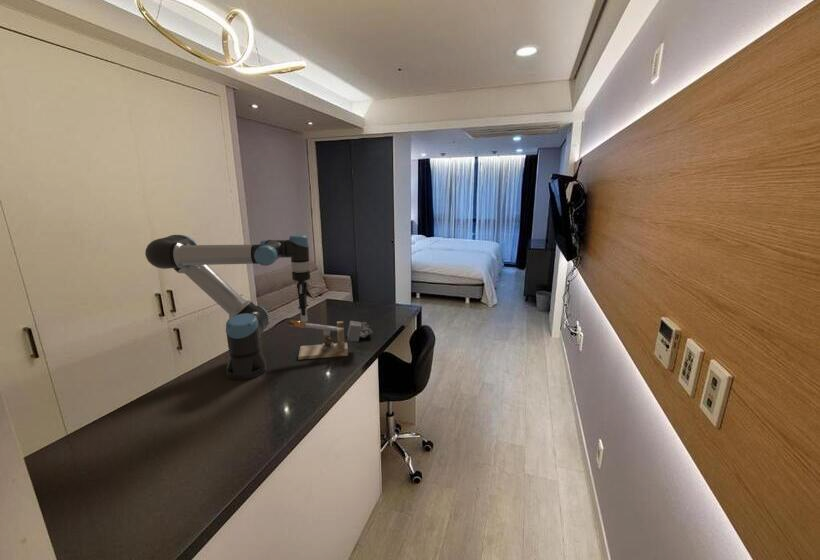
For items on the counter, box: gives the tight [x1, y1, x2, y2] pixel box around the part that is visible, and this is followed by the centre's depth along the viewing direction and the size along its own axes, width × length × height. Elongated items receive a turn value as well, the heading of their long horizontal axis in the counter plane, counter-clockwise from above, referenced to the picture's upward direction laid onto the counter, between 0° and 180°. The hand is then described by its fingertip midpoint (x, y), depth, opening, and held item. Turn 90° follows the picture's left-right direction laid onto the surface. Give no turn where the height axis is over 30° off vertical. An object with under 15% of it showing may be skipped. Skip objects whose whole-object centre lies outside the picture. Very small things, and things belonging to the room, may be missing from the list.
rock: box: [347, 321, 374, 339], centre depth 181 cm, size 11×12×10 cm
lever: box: [288, 319, 362, 342], centre depth 158 cm, size 32×6×8 cm, turn 102°
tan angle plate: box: [297, 320, 349, 360], centre depth 160 cm, size 22×11×13 cm, turn 102°
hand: (304, 321), depth 156 cm, fingers closed
